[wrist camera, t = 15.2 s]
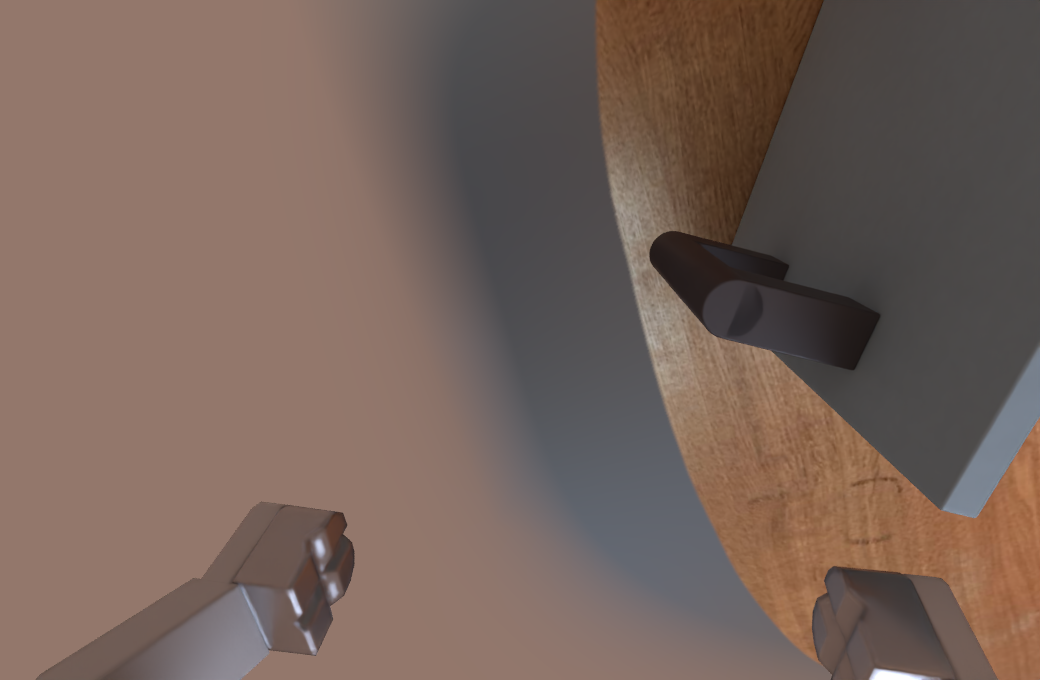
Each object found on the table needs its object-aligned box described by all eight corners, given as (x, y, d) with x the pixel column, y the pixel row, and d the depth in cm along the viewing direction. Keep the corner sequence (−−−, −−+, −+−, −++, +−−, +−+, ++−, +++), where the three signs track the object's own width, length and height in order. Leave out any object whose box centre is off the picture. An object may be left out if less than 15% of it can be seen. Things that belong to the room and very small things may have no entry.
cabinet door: (618, 272, 33) (727, 461, 14) (736, -104, 26) (1202, -646, 8) (729, 300, 33) (977, 520, 14) (870, -65, 27) (1612, -494, 8)
